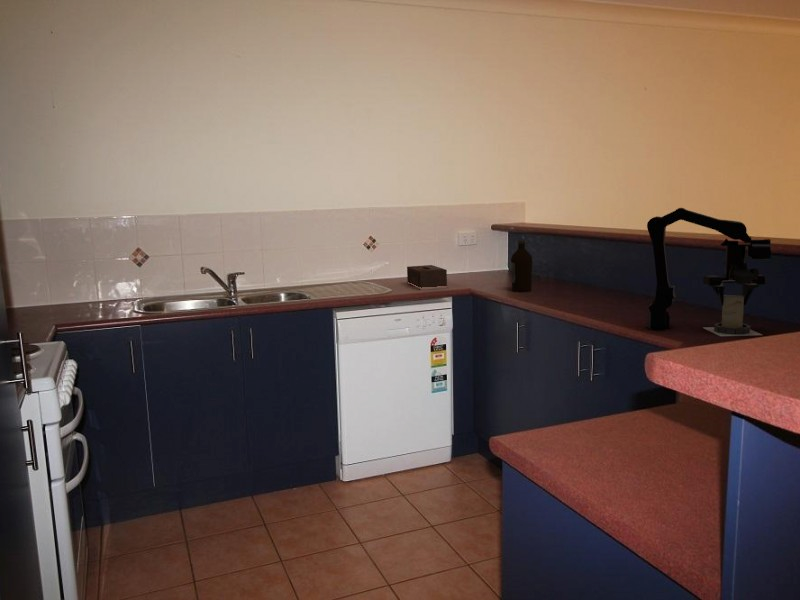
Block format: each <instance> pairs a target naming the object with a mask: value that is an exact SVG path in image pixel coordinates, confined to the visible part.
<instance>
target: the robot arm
mask: <svg viewBox="0 0 800 600" xmlns="http://www.w3.org/2000/svg"><path fill="white" fill-rule="evenodd" d="M679 221H685V222H688V223H690V224H691V223H692V224H693V225H694V224H695V225H697V226H700V227H704V228H707V229H711V230H714V231H716V232H718V233H719V234H722V235H724V236H726V237H728V238H730V239H732V240H728V238H725V239H724V240H723V242H721V243H720V246H721V247H726V250H725V251H726V252H725V261H723V265H724V266H725V271H724V273H723V275H722V276H723V277H722V276H718V275H715V274H714V275H712V274H711V275H705V276H703V278H702V284H704V285H707V286H709V287H712V289H713V291H714V293H715V295H716V298H717V300H718V302H719V306H721V307H722V306H723V301H724V297H723V296H724V290H725V288H726V286H724V284H731V283H732V284H735V283H736V284H738V285H742V296H744V306H746V305H747V304H748V301H749V298H750V296H751V294H752V293H753V291H754V290H755V289H756V288H759V287H760V285H766V284H767V277H766V276H765V275H763V274H760V273H759V269H758V268H750V269H748V264H747V262H746V254H747V257H749V258H750V260H751V261H753V260H758V261H770V260H771V258H772V257H771V256H772V255H771V254H772V249H771V239H769V238H764V239H752V236H750V235H749V234H748V233H747V231H748V230H747V227H746V225H745V223H743V222H742V221H737V220H727V219H721V218H720V219H719V218H715V217H712V216H709V215H706V214H702V213H699V212H696V211H692V210H689V209H686V208H684V207H678V208H677V209H675V210H673V211H672V212H671V211H670V212H669V213H667V214H665V215H663V216H659V215H658V216H653V217H651V218H650V219H649V220H648V221H647V224H646V229H647V231H648V234H649V235H648V236H649V237H650V240H651V244H652V249H653V257H654V267H655V275H656V276H655V279H656V287H655V298H654V300H653V301H651V303H650V304H649V306H648V310H647V324H646V325H645V327H647V328H648V329H650V330H653V331H655V330H656V331H657V330H670V329H671V327H670V326H671V325H670V324H671V322H670V321H671V315H670V314H669V310H667V309H669V308H670V307H671V306H672V305H673V303H674V300H675V299H676V297H677V295H676V293H675V289H676V287H675V286H676V285H675V284H674V285H671V283H670V280H669V272H668V264H667V255H666V246H665V239H666V232H667V231H666V229H667V227H668V226H670V225H672V224H674V223H676V222H679ZM738 240H740V241H741V242H743V243H739V241H738ZM746 248H747V253H746Z"/></svg>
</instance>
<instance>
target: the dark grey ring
mask: <svg viewBox="0 0 800 600" xmlns="http://www.w3.org/2000/svg"><path fill="white" fill-rule="evenodd" d="M713 325H714V326H713V327H714V331H716V332H718V333H723V334H733V335H741V334H748V333H750V330H751V325H749V324H747V323H743V328H726V327H721V326H722V321H721V322H717V323H716V322H715V323H714V324H713Z"/></svg>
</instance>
